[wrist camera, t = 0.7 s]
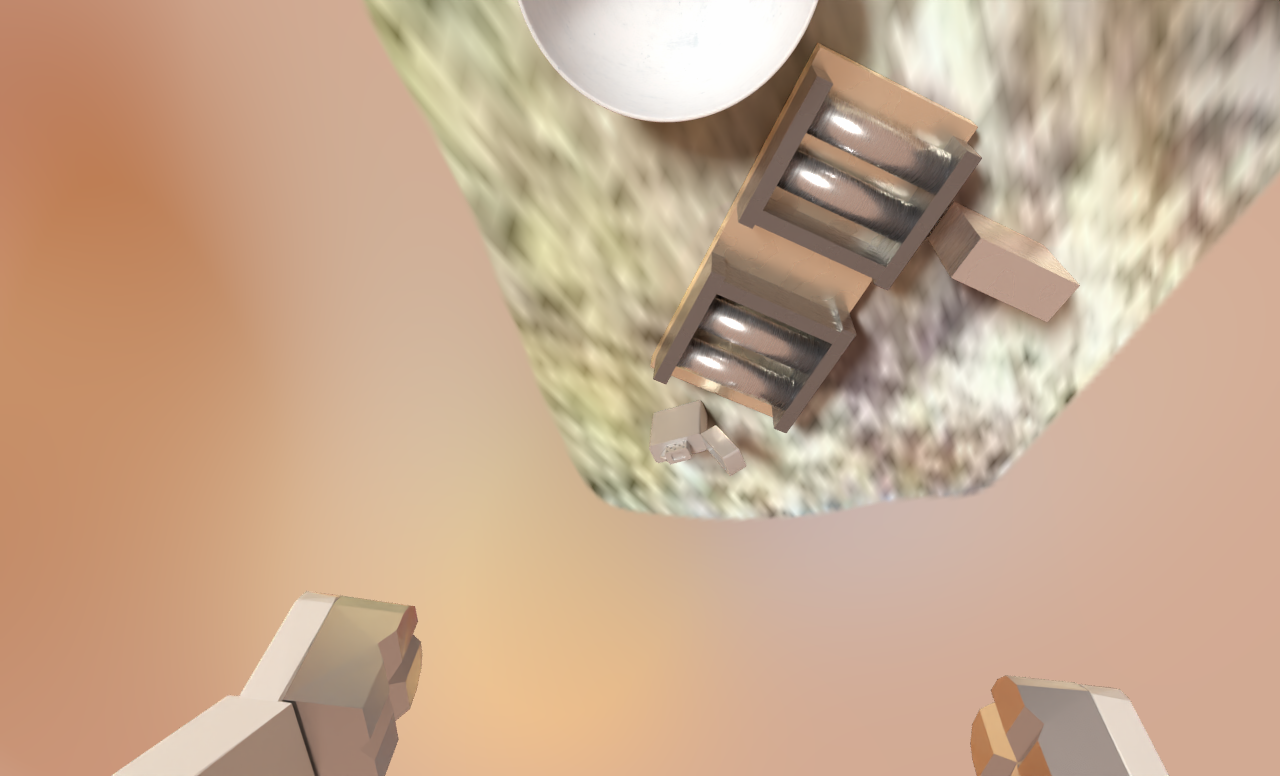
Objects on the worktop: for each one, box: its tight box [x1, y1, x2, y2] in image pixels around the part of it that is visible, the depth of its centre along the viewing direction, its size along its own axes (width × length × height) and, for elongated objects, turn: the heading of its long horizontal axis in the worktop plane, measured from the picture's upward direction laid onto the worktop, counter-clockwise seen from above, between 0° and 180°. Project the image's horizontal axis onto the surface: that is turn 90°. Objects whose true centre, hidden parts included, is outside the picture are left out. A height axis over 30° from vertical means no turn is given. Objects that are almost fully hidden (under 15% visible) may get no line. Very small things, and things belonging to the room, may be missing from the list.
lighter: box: [649, 400, 746, 476], centre depth 55 cm, size 7×2×8 cm, turn 112°
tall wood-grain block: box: [928, 202, 1080, 322], centre depth 47 cm, size 3×7×6 cm, turn 67°
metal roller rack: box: [651, 43, 982, 433], centre depth 49 cm, size 24×11×4 cm, turn 157°
